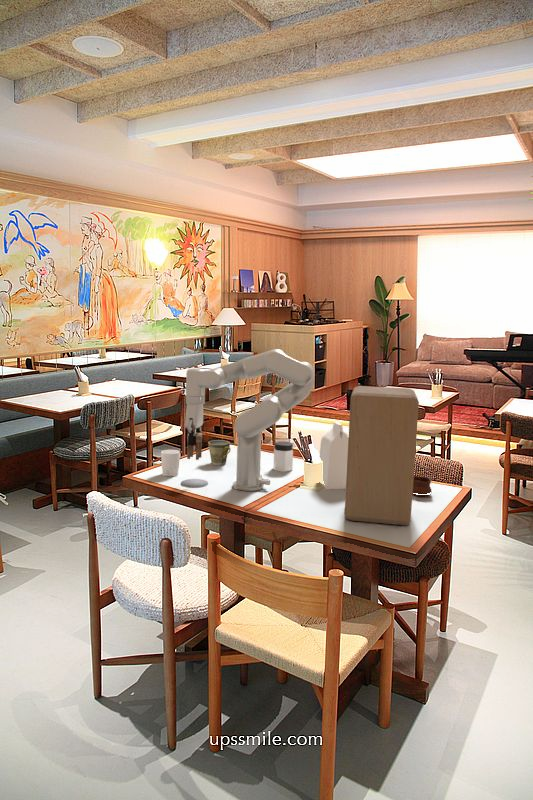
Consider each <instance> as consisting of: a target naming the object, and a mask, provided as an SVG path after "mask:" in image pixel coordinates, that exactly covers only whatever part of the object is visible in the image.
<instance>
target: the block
mask: <svg viewBox="0 0 533 800" xmlns="http://www.w3.org/2000/svg"><path fill="white" fill-rule="evenodd" d="M349 403H350V404H349V420H348V421H349V422H348V423H349V425H348V458H347V477H346V489H345V500H344V516H345V518H346V520H349V521H353V522H361V523H362V522H364V523H365V522H366V523H375V524H384V525H385V524H387V525H395V526H396V525H397V526H405V525H406V526H407V525H409V523H411V519H412V508H413V507H412V506H413V505H412V504H413V496H412V494H413V480H414V477H415V475H414V474H415V462H416V461H415V460H416V448H417V435H418V422H419V421H418V419H419V406H420V404H419V403H420V402H419V400H418V396H417V394H416V392H415V389H414V390H413V389H412V388H405V387H404V388H403V387H386V386H385V387H384V386H369V385H368V386H367V385H358V386H355V387H354V388H353V390H352V392H351V396H350V402H349Z"/></svg>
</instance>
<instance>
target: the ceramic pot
mask: <svg viewBox="0 0 533 800" xmlns="http://www.w3.org/2000/svg"><path fill="white" fill-rule="evenodd" d="M431 484H432V479H431V478H429V477H427V476H414V480H413V493H418V494H427V493H430V492H431V494H430V495H416V494H412V497H415V498H429V497H430V496H431V495H432V488H431ZM415 501H417V502H420V500H419V499H418V500H417V499H415ZM422 502H428V501H424V500H422Z"/></svg>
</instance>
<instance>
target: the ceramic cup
mask: <svg viewBox="0 0 533 800" xmlns="http://www.w3.org/2000/svg"><path fill="white" fill-rule="evenodd" d="M207 445H208V451H209V456H210V457H209V458H210V461H211V462H210V463H211V464H212V465H214V466H224V465H226V464H227V458H228V454H229V453H230V452H231V442H230V441H228V440H223V439H215V440H210V441H208V442H207Z"/></svg>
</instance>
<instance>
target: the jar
mask: <svg viewBox="0 0 533 800" xmlns="http://www.w3.org/2000/svg"><path fill="white" fill-rule="evenodd" d="M293 444H294V443H292V442H291V441H283V440H282V441H276V442H275V443H274V446H273V447H274V448H273V470H274V471H275V472H284V473H287V472H290V471H293V467H294V466H293V465H294V464H293V463H294V461H293V460H294V450H293V448H294V447H293Z"/></svg>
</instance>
